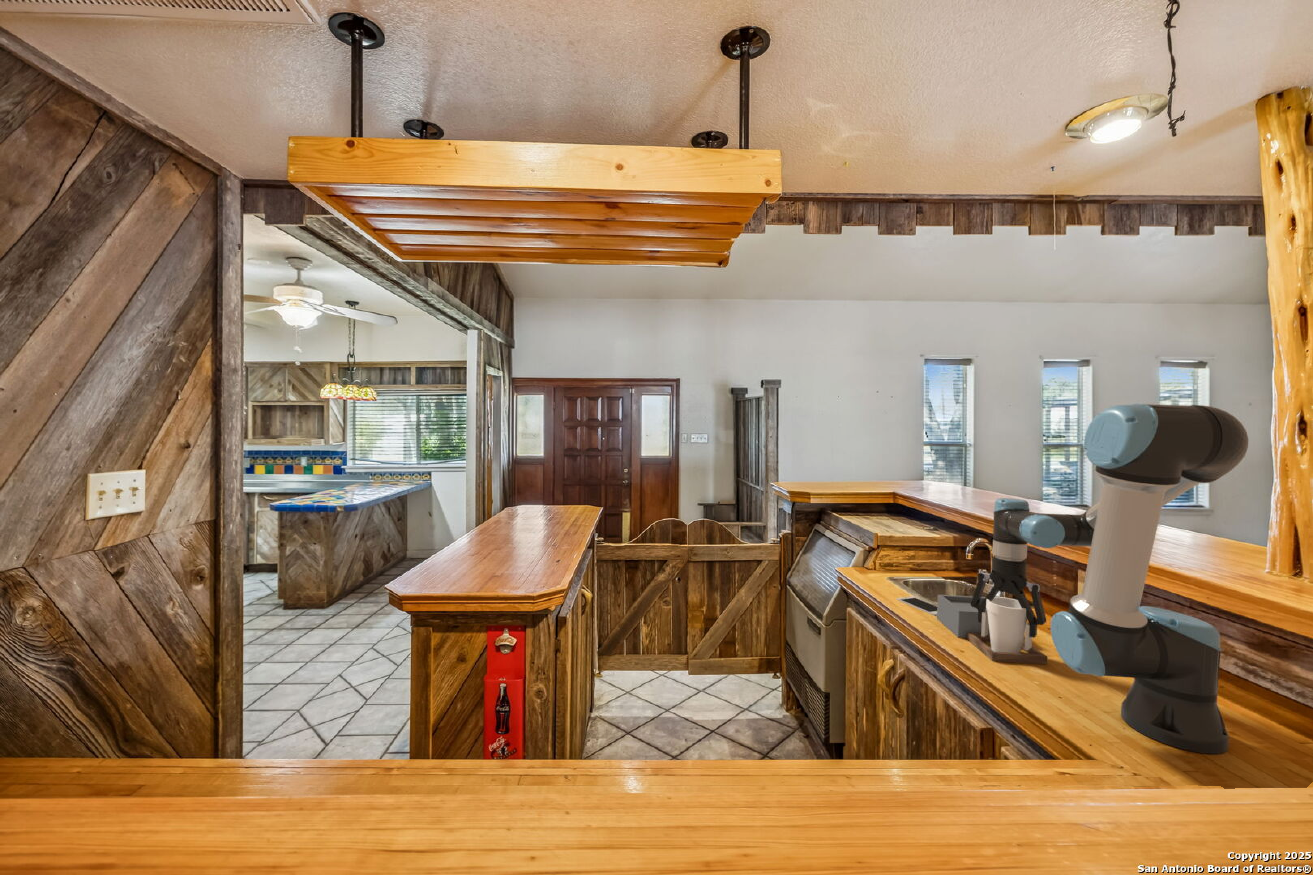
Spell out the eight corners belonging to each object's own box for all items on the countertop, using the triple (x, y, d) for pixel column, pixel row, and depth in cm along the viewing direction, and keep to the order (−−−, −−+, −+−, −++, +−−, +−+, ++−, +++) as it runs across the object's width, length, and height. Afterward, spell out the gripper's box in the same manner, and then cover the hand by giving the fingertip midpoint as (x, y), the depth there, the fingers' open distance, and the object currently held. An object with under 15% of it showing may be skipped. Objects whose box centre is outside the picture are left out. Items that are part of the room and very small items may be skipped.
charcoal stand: (1011, 640, 145) (1012, 614, 145) (958, 637, 146) (959, 611, 146) (985, 621, 159) (986, 597, 158) (936, 618, 160) (937, 594, 160)
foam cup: (977, 642, 143) (979, 596, 142) (1011, 644, 142) (1013, 597, 142) (998, 658, 133) (1000, 608, 133) (1035, 660, 133) (1037, 609, 133)
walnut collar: (1047, 664, 131) (1047, 656, 131) (992, 660, 132) (992, 652, 132) (1017, 642, 144) (1017, 635, 144) (967, 639, 145) (967, 632, 145)
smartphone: (934, 616, 163) (934, 613, 163) (895, 600, 177) (895, 597, 177) (951, 614, 165) (951, 611, 165) (911, 598, 180) (912, 595, 180)
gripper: (1065, 564, 131) (1061, 652, 132) (969, 547, 148) (966, 625, 149) (1056, 569, 126) (1052, 660, 127) (958, 550, 143) (955, 631, 144)
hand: (1005, 641), depth 138 cm, fingers closed on foam cup, 9 cm apart
